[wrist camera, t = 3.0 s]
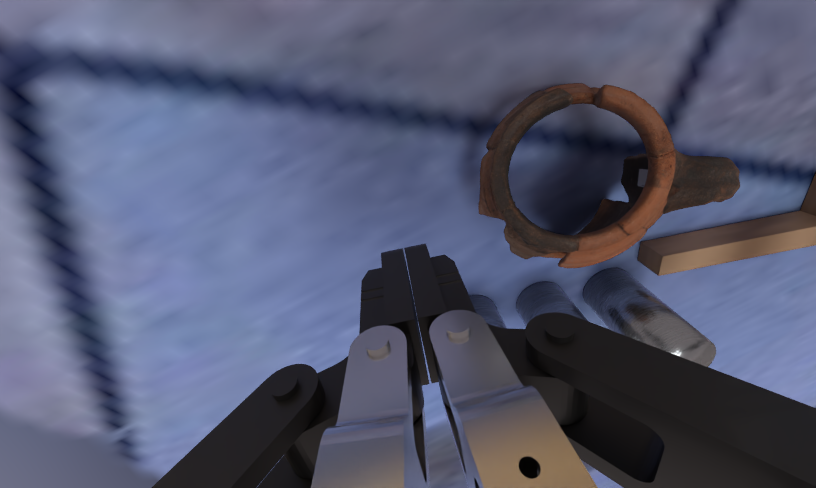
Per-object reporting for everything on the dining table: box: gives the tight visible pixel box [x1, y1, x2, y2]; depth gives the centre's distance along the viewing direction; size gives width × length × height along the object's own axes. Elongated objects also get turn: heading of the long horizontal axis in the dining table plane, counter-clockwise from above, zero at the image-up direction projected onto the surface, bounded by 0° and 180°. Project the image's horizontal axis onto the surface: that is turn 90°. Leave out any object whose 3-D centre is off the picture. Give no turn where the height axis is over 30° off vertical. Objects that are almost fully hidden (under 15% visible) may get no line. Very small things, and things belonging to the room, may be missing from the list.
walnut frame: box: [638, 174, 816, 276], centre depth 18 cm, size 12×18×2 cm
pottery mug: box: [479, 83, 740, 268], centre depth 18 cm, size 12×10×8 cm
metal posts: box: [469, 268, 716, 367], centre depth 16 cm, size 14×26×7 cm, turn 10°
